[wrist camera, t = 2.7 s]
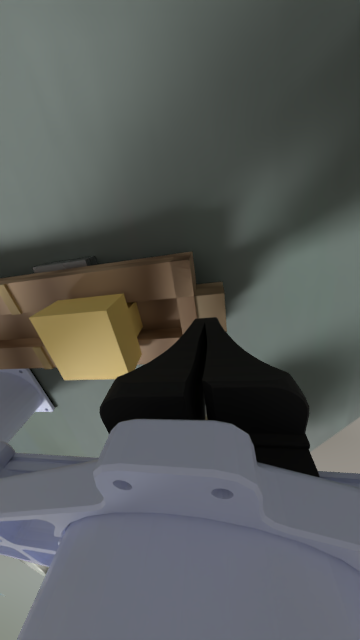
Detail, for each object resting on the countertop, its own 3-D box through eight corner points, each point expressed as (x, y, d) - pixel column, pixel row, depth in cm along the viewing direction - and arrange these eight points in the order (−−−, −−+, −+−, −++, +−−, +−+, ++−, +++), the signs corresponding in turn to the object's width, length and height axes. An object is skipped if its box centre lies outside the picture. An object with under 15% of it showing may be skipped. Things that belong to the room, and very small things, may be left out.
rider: (96, 342, 18) (64, 380, 14) (74, 290, 16) (28, 317, 12) (148, 339, 17) (130, 378, 13) (133, 283, 15) (105, 310, 11)
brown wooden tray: (5, 353, 22) (-21, 371, 20) (-43, 284, 19) (-83, 295, 16) (225, 341, 18) (228, 362, 15) (220, 247, 14) (222, 255, 12)
